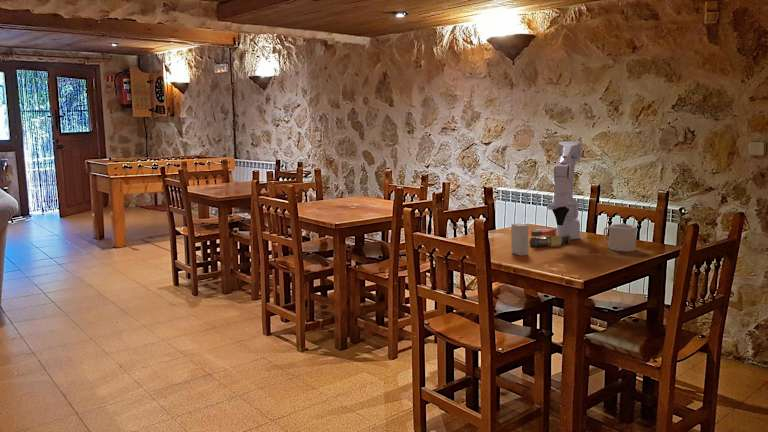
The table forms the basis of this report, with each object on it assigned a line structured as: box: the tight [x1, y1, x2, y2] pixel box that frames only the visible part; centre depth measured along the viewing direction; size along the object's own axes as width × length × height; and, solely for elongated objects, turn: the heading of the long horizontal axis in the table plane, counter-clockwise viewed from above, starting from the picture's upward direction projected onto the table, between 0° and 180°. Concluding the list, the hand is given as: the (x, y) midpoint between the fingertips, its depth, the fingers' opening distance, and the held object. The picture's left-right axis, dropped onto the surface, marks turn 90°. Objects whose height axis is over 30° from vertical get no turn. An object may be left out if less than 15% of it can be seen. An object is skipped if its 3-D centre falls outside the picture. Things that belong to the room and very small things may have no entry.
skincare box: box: [511, 223, 529, 256], centre depth 248 cm, size 6×4×12 cm
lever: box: [530, 228, 557, 238], centre depth 262 cm, size 12×3×2 cm, turn 117°
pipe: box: [529, 234, 572, 249], centre depth 265 cm, size 18×5×5 cm, turn 112°
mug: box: [602, 223, 638, 253], centre depth 257 cm, size 14×11×10 cm
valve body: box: [542, 233, 563, 247], centre depth 265 cm, size 7×5×5 cm
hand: (559, 225), depth 258 cm, fingers closed
